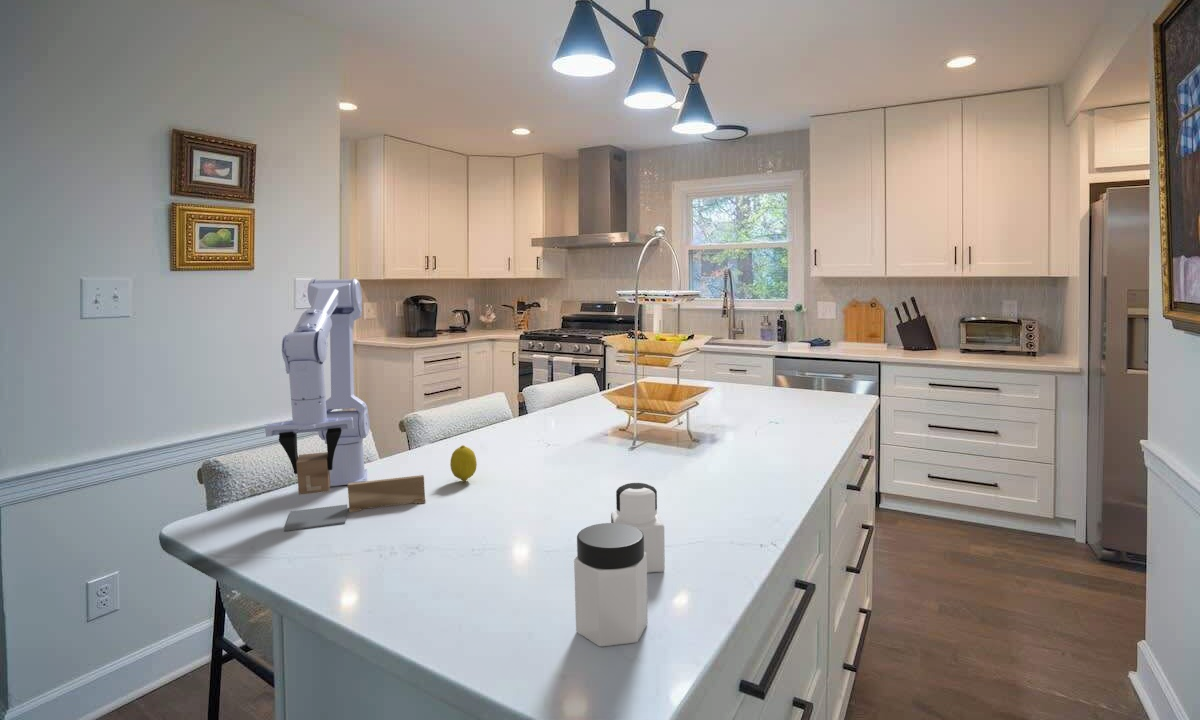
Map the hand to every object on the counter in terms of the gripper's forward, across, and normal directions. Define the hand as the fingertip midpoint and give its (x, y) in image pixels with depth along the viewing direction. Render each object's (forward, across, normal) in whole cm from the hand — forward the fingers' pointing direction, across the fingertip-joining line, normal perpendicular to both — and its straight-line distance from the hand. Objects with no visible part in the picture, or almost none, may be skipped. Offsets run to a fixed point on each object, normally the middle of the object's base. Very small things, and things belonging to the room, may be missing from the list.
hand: (313, 470), depth 119 cm
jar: (+9, +38, -56) cm, 68 cm away
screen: (+9, +12, +2) cm, 16 cm away
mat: (+9, 0, 0) cm, 9 cm away
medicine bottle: (+9, +48, -40) cm, 63 cm away
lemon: (+9, +28, +12) cm, 32 cm away
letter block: (+3, 0, 0) cm, 4 cm away
